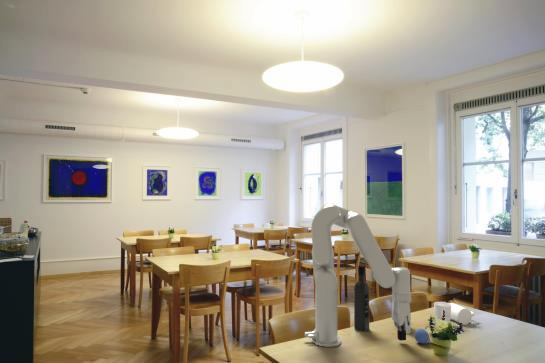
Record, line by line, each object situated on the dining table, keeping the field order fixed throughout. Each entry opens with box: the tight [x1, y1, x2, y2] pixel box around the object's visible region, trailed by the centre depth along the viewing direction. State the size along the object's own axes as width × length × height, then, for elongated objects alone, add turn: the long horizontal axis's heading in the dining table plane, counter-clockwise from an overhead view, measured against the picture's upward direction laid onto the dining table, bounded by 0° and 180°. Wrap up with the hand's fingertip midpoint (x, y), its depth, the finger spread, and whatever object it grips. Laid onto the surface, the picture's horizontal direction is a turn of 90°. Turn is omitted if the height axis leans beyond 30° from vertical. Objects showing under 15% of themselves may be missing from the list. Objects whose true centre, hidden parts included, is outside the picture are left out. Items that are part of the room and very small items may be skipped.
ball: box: [413, 328, 429, 345], centre depth 164 cm, size 6×6×6 cm
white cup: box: [433, 301, 452, 323], centre depth 187 cm, size 8×8×10 cm
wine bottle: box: [353, 264, 370, 333], centre depth 181 cm, size 6×6×30 cm
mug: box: [449, 302, 476, 326], centre depth 192 cm, size 12×10×8 cm
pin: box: [406, 323, 412, 335], centre depth 176 cm, size 2×2×9 cm
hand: (401, 339), depth 163 cm, fingers closed
